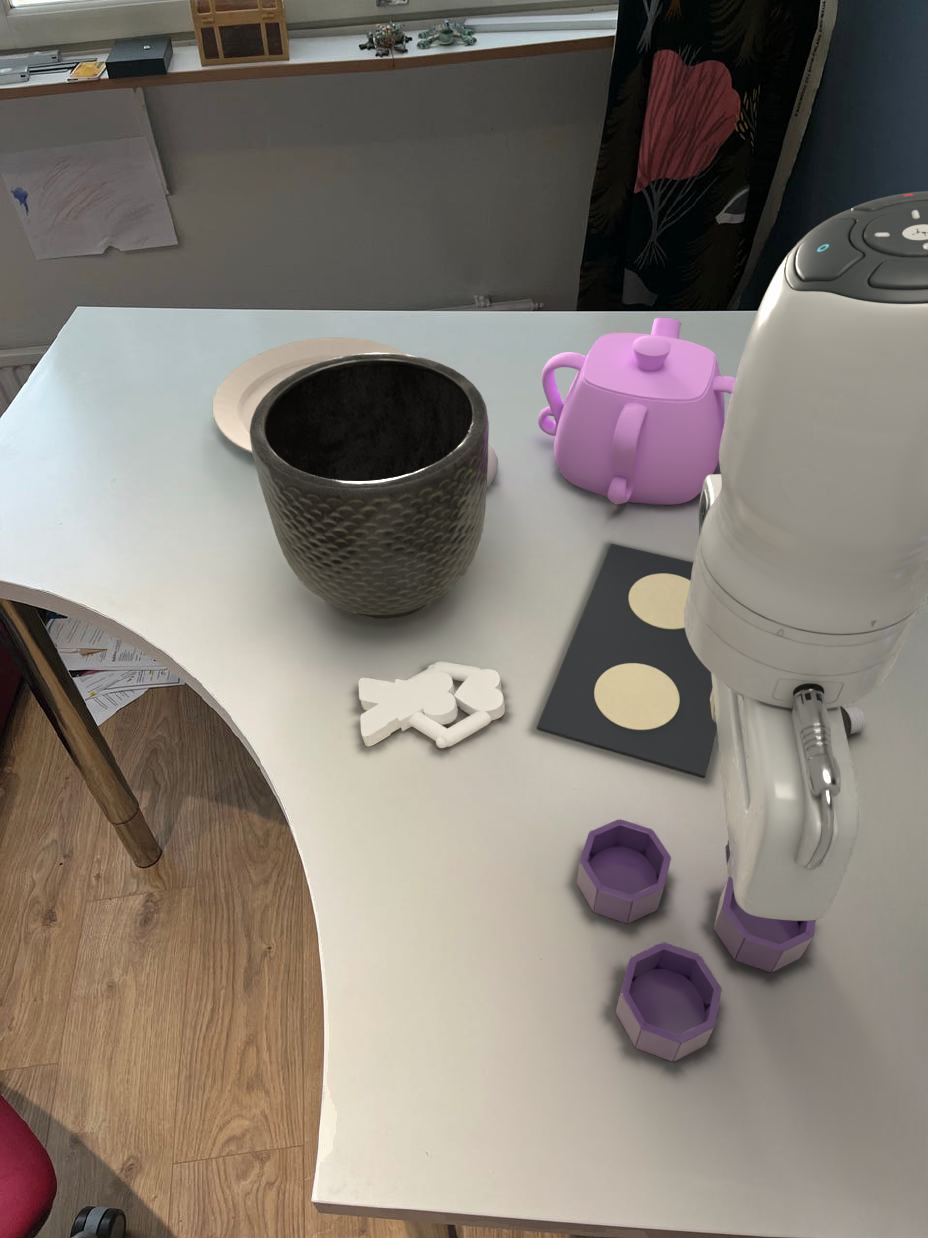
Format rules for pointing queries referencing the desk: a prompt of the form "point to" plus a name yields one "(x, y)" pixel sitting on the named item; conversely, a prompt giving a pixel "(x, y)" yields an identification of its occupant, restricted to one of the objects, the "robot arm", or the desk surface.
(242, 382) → the plate
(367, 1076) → the desk surface
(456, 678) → the white abstract figurine
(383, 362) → the planter
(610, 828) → the dish
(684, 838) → the desk surface
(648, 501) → the teapot
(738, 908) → the dish
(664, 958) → the dish
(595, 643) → the mat
